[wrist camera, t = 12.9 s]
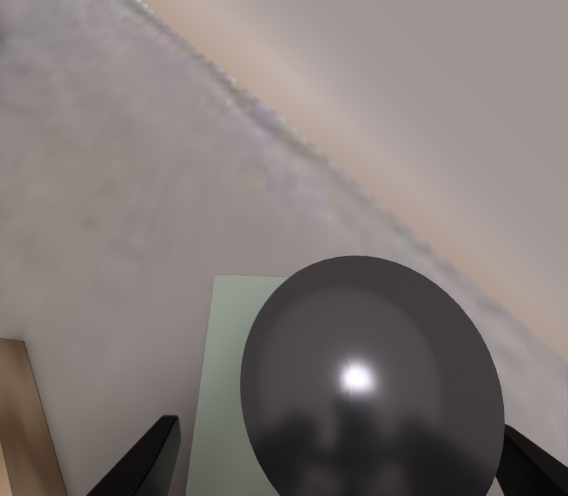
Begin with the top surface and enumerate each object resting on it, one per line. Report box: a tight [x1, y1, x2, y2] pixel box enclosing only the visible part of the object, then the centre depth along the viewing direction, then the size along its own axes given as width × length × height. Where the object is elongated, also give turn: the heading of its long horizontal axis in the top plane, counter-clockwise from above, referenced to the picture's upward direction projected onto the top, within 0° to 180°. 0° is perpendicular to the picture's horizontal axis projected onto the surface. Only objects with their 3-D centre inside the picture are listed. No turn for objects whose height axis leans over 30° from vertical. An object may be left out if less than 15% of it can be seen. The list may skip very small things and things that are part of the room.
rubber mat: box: [185, 275, 288, 496], centre depth 17 cm, size 12×12×1 cm
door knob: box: [240, 256, 505, 496], centre depth 11 cm, size 6×6×12 cm
